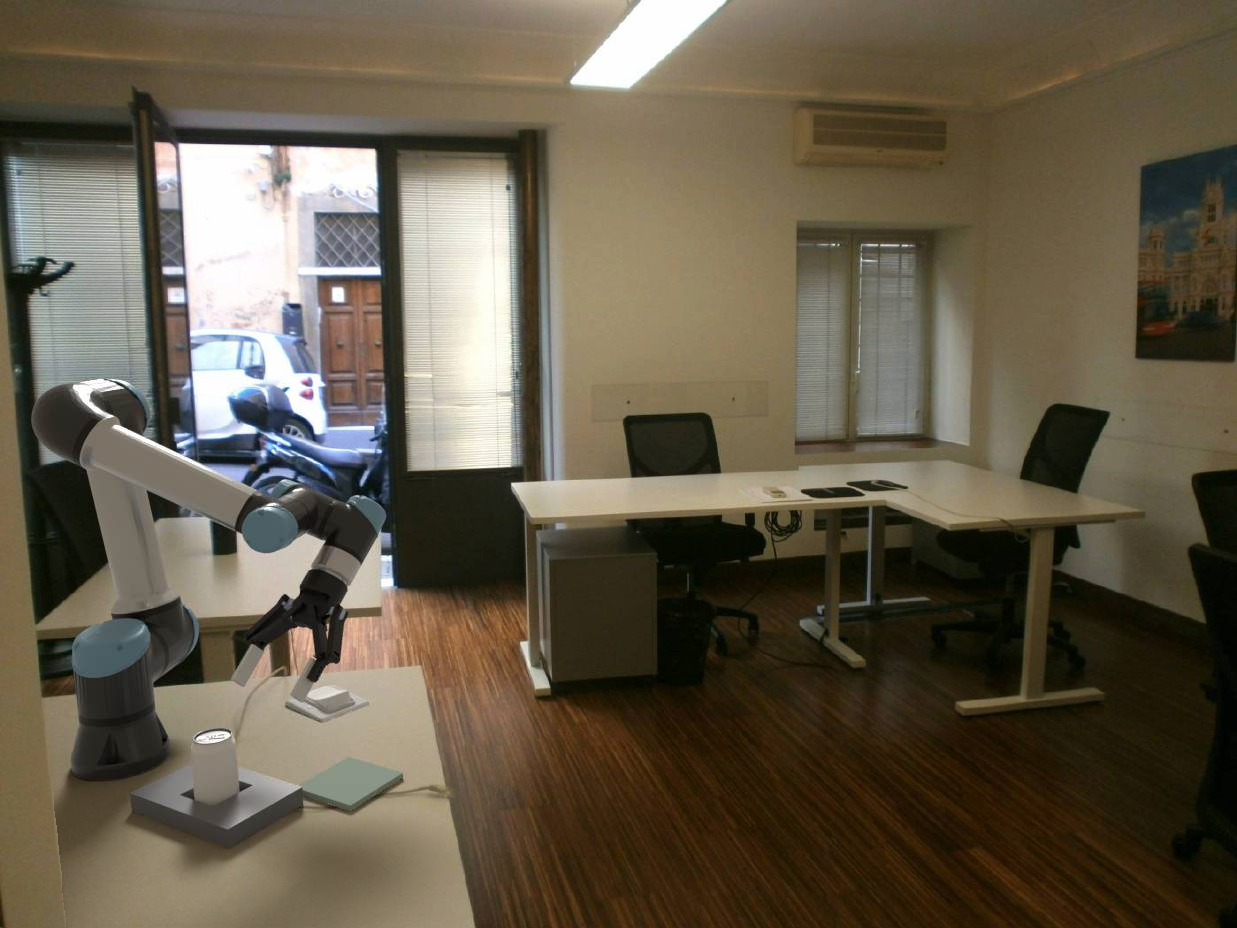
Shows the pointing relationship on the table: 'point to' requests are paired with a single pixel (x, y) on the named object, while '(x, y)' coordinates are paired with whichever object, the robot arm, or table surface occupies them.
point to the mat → (349, 783)
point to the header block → (218, 805)
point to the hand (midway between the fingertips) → (266, 691)
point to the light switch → (327, 703)
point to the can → (214, 766)
